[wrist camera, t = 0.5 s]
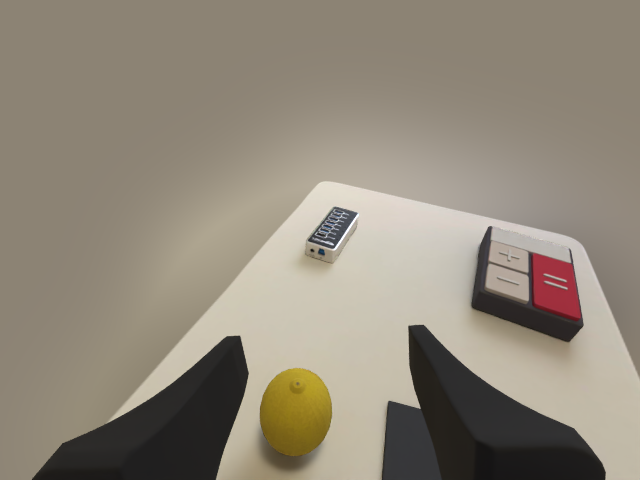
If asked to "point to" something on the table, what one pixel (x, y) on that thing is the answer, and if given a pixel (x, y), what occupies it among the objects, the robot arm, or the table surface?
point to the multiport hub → (331, 234)
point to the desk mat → (408, 446)
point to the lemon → (295, 412)
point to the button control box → (528, 283)
